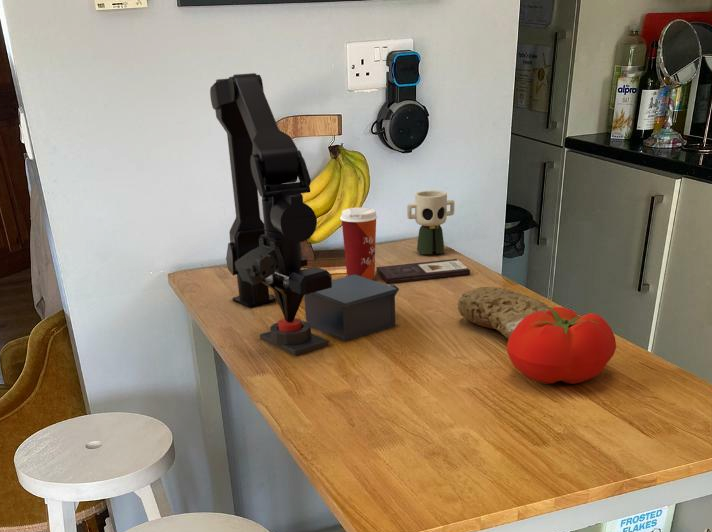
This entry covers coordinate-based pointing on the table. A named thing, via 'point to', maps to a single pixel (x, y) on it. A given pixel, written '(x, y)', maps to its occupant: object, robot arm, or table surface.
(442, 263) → the chocolate bar
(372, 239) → the paper cup
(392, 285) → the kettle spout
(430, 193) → the character mug
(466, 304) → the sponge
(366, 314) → the storage box
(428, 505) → the table surface
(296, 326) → the red button
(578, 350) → the tomato
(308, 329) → the push button switch
